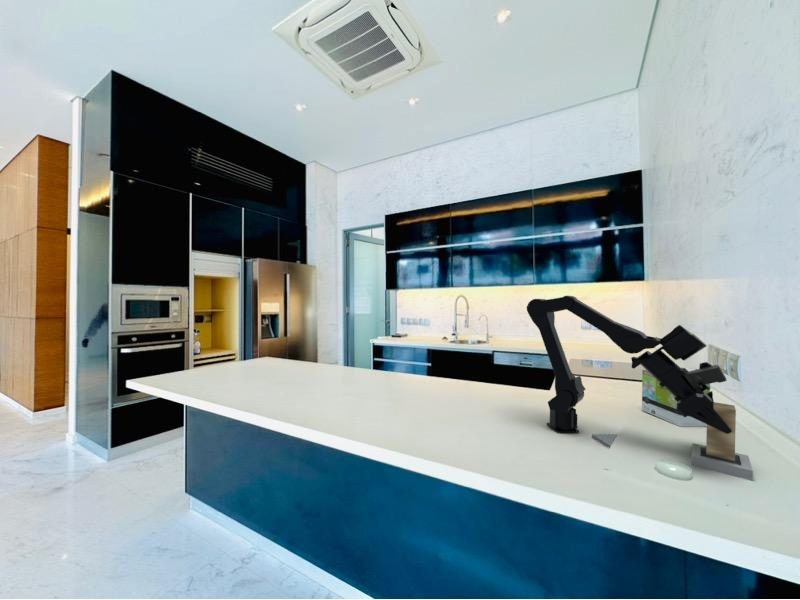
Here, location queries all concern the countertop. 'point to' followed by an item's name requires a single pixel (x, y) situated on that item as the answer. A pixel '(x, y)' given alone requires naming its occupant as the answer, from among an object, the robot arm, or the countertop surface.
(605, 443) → the slate board
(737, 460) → the stone holder
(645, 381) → the tea box
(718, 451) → the wooden block
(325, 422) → the countertop surface
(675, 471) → the pale grey oval lump
